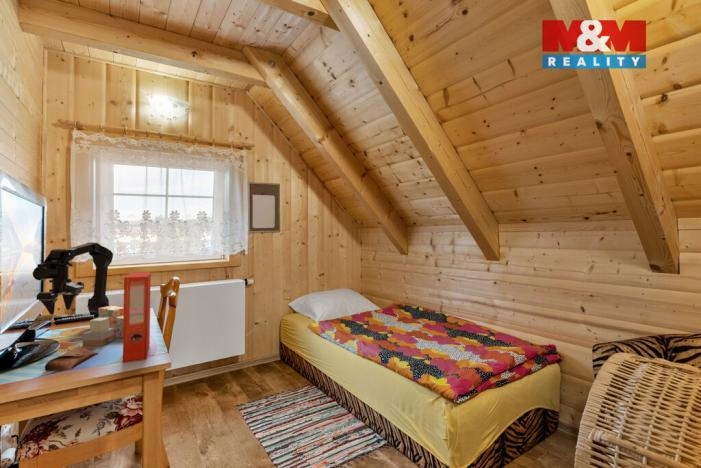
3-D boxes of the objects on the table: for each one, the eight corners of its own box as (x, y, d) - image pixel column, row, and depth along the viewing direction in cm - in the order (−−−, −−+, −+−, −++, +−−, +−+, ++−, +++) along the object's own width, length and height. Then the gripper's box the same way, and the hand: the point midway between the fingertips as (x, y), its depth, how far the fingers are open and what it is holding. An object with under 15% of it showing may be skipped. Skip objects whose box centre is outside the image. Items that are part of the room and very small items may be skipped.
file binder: (150, 346, 150) (150, 271, 150) (147, 359, 135) (147, 276, 134) (128, 348, 146) (128, 272, 146) (122, 362, 131) (123, 277, 131)
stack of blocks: (137, 335, 165) (137, 309, 165) (124, 339, 160) (124, 312, 160) (112, 329, 175) (112, 305, 175) (98, 332, 169) (98, 307, 169)
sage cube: (98, 328, 156) (98, 317, 156) (109, 328, 156) (109, 317, 156) (89, 331, 151) (89, 320, 151) (101, 332, 151) (101, 320, 151)
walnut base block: (95, 341, 157) (95, 334, 157) (113, 341, 157) (113, 334, 157) (82, 347, 149) (82, 340, 149) (101, 347, 149) (101, 340, 149)
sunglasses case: (71, 370, 123) (60, 354, 123) (52, 381, 123) (41, 365, 122) (100, 352, 141) (90, 338, 141) (83, 362, 140) (74, 348, 140)
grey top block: (95, 334, 157) (95, 328, 157) (113, 334, 157) (113, 328, 157) (82, 340, 149) (82, 333, 149) (101, 340, 149) (101, 333, 149)
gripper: (63, 280, 147) (62, 317, 147) (93, 274, 165) (93, 307, 165) (35, 280, 146) (35, 317, 146) (68, 274, 165) (68, 307, 165)
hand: (60, 312), depth 156 cm, fingers open, 9 cm apart
